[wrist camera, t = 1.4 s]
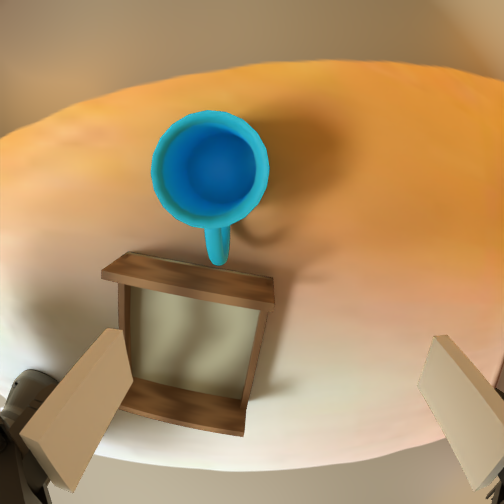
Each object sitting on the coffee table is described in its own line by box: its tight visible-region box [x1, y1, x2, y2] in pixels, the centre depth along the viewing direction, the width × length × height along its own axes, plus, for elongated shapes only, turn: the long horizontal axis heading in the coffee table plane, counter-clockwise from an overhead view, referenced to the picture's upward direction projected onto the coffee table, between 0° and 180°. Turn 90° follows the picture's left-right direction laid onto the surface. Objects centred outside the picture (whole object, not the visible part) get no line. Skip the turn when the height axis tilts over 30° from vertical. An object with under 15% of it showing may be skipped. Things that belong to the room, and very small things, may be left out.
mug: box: [151, 110, 270, 266], centre depth 25 cm, size 12×8×8 cm
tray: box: [101, 252, 275, 437], centre depth 30 cm, size 15×17×6 cm
